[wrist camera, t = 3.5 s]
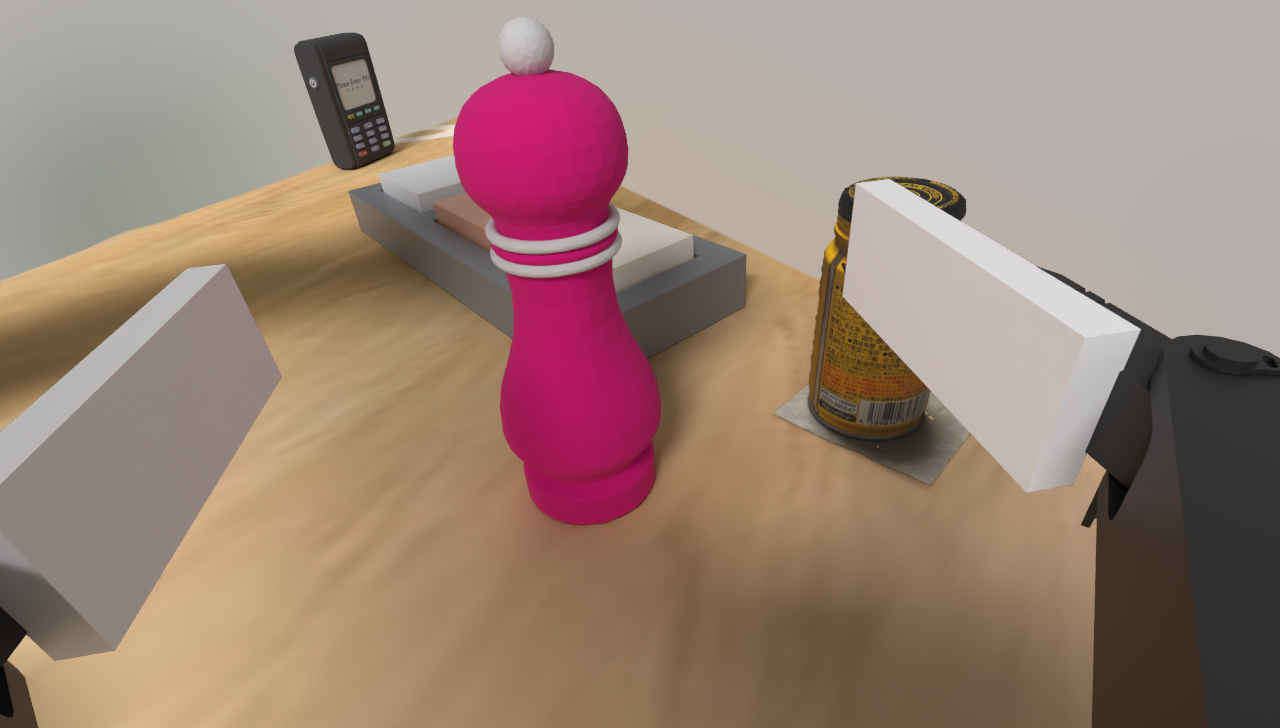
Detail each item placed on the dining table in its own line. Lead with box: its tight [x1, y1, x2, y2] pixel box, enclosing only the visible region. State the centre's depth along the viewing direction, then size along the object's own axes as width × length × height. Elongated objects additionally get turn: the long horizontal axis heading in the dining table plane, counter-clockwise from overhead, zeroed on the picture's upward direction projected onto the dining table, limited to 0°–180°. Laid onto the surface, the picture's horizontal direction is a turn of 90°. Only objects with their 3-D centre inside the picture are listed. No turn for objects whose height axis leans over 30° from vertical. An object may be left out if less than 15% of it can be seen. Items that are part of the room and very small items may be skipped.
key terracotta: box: [433, 193, 492, 252], centre depth 50 cm, size 9×9×3 cm
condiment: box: [773, 177, 970, 485], centre depth 30 cm, size 7×8×12 cm
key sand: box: [612, 207, 694, 293], centre depth 42 cm, size 9×9×3 cm
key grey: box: [378, 155, 466, 213], centre depth 58 cm, size 9×9×3 cm
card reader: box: [294, 33, 395, 169], centre depth 79 cm, size 9×4×15 cm, turn 161°
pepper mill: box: [453, 17, 661, 525], centre depth 25 cm, size 7×7×20 cm
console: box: [348, 183, 746, 359], centre depth 51 cm, size 14×38×4 cm, turn 41°
